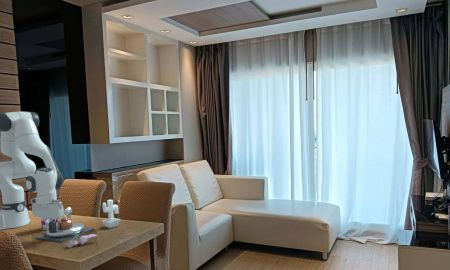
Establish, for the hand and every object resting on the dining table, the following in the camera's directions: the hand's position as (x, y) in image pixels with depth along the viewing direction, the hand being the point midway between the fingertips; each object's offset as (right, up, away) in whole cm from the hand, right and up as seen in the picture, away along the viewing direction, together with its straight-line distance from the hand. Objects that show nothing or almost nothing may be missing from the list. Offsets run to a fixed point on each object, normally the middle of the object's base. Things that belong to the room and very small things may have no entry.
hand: (49, 225), depth 171 cm
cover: (+6, -3, +5) cm, 8 cm away
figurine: (+27, -5, +15) cm, 32 cm away
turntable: (+6, -5, +5) cm, 9 cm away
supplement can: (-9, -7, +18) cm, 21 cm away
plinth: (+6, -6, +5) cm, 10 cm away
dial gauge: (+3, -5, +16) cm, 17 cm away
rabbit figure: (+22, -6, -13) cm, 26 cm away
